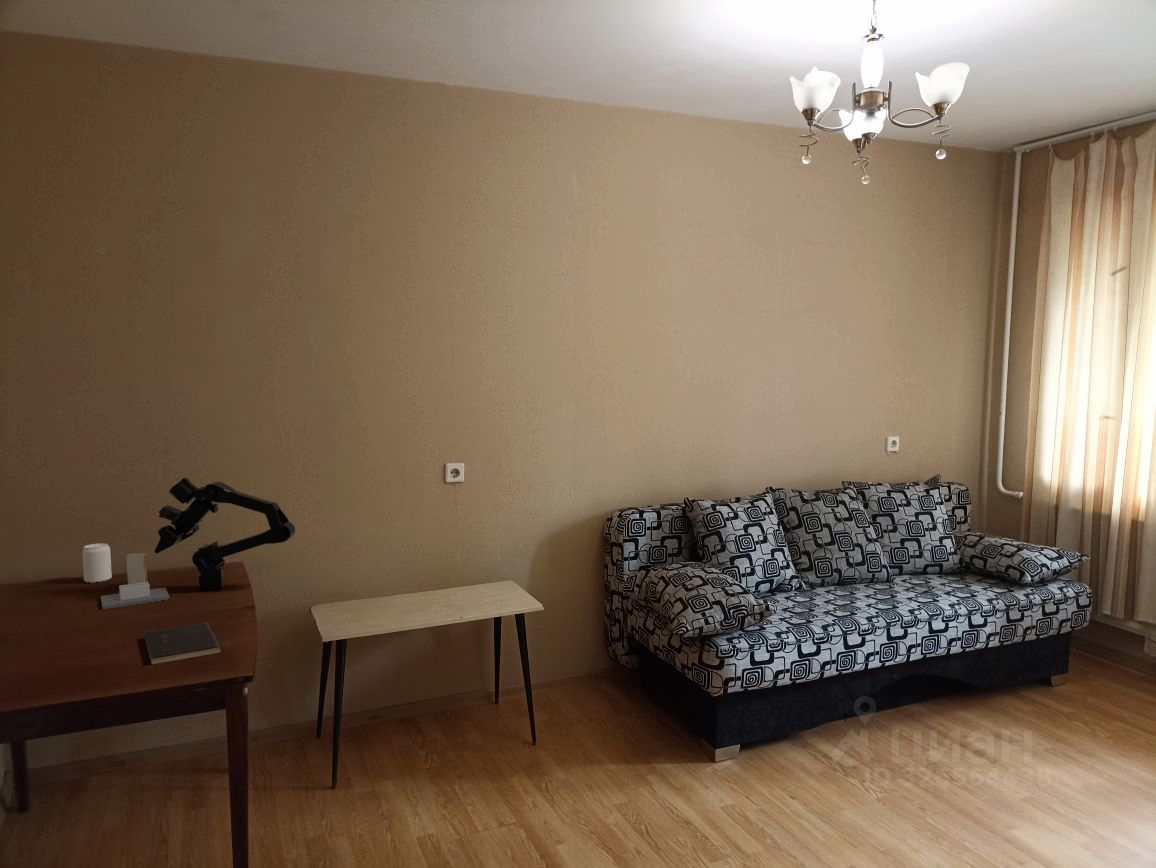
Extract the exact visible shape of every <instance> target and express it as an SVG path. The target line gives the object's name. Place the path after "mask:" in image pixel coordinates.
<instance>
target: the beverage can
mask: <svg viewBox="0 0 1156 868" xmlns="http://www.w3.org/2000/svg"><path fill="white" fill-rule="evenodd" d="M81 553H82V567H83V568H82V569H83V581H84V582H86V583H88V582H90V583H89V584H97V583H96V582H99V583H103V581H104V582H107V581H108V580H111V578H112V576H113V574H112V562H111V560H112V558H111V557H112V556H111V546H109V543H102V542H101V543H93V544H86V545H84V546H83V549H82V552H81Z"/></svg>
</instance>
